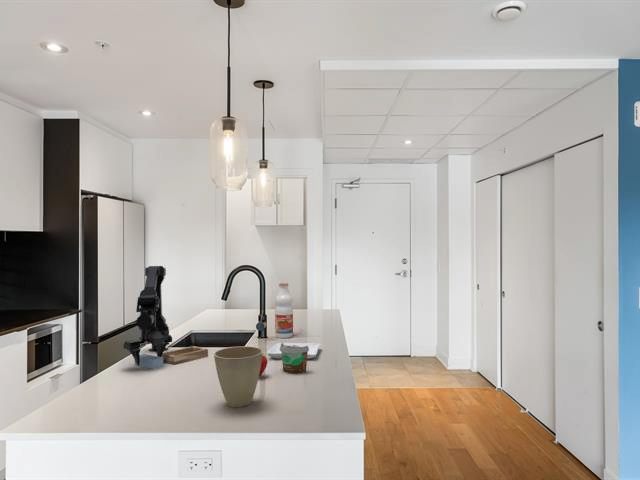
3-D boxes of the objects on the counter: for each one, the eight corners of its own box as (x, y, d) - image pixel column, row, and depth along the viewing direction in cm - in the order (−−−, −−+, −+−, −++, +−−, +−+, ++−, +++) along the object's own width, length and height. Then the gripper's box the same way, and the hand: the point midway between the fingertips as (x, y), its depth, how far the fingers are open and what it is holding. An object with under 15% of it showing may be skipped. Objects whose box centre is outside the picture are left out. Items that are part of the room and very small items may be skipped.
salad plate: (321, 349, 212) (321, 342, 212) (316, 361, 191) (316, 353, 191) (276, 349, 214) (275, 342, 214) (266, 361, 193) (266, 353, 193)
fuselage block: (134, 366, 188) (134, 356, 188) (143, 363, 192) (143, 353, 192) (154, 369, 182) (154, 359, 182) (163, 367, 186) (163, 357, 186)
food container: (273, 372, 176) (273, 345, 176) (282, 368, 181) (281, 342, 181) (301, 376, 170) (301, 349, 170) (309, 371, 175) (309, 345, 175)
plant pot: (211, 398, 146) (210, 348, 146) (257, 392, 152) (256, 344, 152) (218, 415, 132) (217, 360, 132) (268, 408, 138) (267, 354, 138)
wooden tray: (159, 361, 194) (159, 353, 194) (193, 353, 208) (193, 346, 208) (174, 364, 188) (174, 357, 188) (208, 356, 201) (207, 349, 201)
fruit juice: (288, 334, 247) (288, 282, 247) (296, 337, 239) (295, 283, 239) (272, 336, 243) (271, 283, 243) (279, 339, 234) (278, 284, 235)
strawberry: (269, 374, 173) (269, 347, 173) (264, 380, 165) (264, 352, 165) (254, 373, 173) (254, 347, 173) (248, 379, 166) (248, 352, 166)
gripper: (137, 330, 175) (137, 371, 175) (179, 323, 189) (180, 361, 189) (122, 327, 182) (122, 366, 182) (164, 320, 196) (164, 357, 196)
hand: (148, 362), depth 187 cm, fingers open, 9 cm apart
